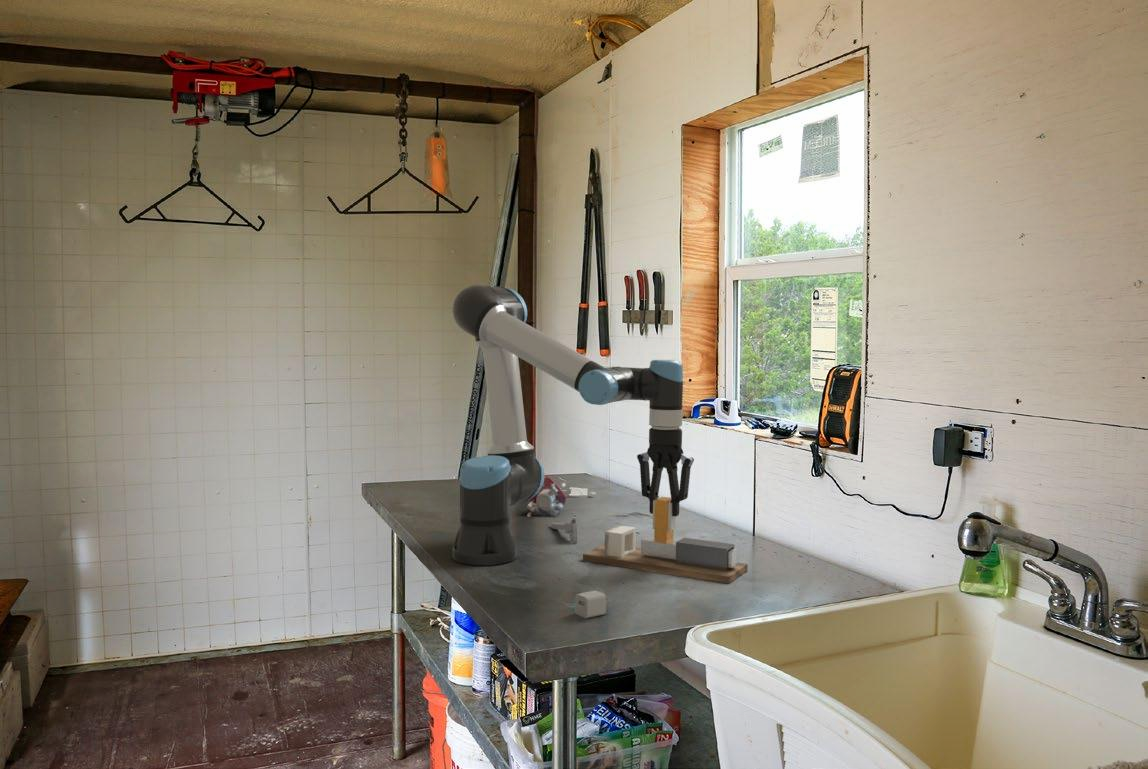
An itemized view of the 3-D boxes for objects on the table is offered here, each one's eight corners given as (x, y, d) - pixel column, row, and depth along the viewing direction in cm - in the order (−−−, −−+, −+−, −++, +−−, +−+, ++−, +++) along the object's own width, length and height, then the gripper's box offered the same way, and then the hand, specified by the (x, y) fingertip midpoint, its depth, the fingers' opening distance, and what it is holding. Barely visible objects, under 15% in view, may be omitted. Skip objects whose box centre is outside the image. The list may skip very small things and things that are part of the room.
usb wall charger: (575, 613, 171) (575, 593, 171) (604, 607, 175) (604, 587, 175) (587, 619, 168) (587, 598, 168) (616, 612, 172) (617, 592, 172)
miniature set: (485, 495, 286) (489, 493, 298) (595, 503, 286) (594, 501, 298) (487, 474, 287) (491, 474, 299) (596, 482, 287) (595, 482, 299)
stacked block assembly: (731, 568, 196) (732, 508, 195) (640, 554, 207) (641, 498, 206) (737, 563, 200) (738, 505, 199) (647, 550, 210) (648, 495, 210)
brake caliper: (571, 501, 267) (566, 474, 260) (564, 530, 259) (559, 502, 252) (534, 500, 270) (528, 472, 262) (526, 528, 262) (520, 500, 254)
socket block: (621, 557, 207) (621, 533, 207) (604, 554, 210) (604, 531, 209) (635, 550, 214) (636, 527, 214) (619, 547, 216) (619, 525, 216)
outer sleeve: (726, 571, 196) (726, 549, 196) (675, 563, 202) (675, 542, 202) (733, 566, 201) (734, 544, 200) (684, 558, 206) (684, 537, 206)
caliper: (577, 544, 226) (577, 520, 226) (573, 544, 226) (573, 520, 226) (553, 527, 246) (553, 504, 245) (549, 527, 245) (549, 504, 245)
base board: (729, 583, 192) (729, 576, 192) (582, 560, 210) (582, 554, 210) (747, 570, 203) (747, 564, 203) (606, 549, 220) (606, 543, 220)
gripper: (704, 428, 204) (702, 530, 205) (640, 423, 212) (639, 521, 213) (692, 431, 197) (690, 536, 199) (626, 426, 205) (625, 527, 207)
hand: (664, 528), depth 206 cm, fingers closed on stacked block assembly, 3 cm apart
